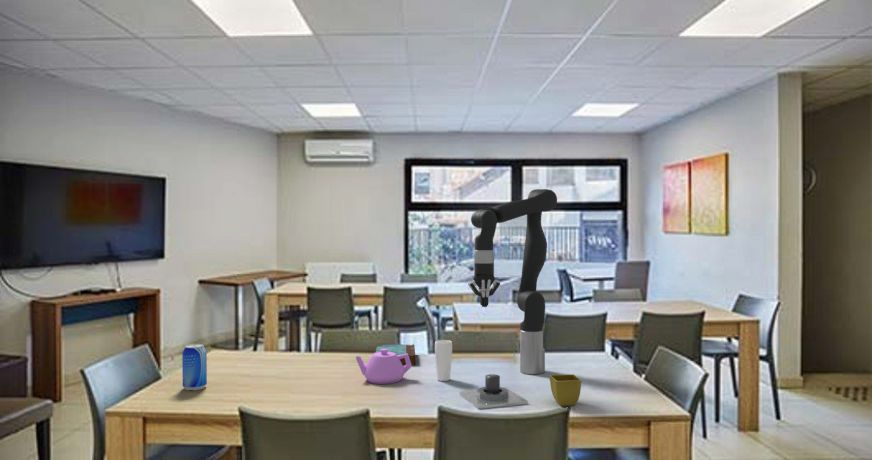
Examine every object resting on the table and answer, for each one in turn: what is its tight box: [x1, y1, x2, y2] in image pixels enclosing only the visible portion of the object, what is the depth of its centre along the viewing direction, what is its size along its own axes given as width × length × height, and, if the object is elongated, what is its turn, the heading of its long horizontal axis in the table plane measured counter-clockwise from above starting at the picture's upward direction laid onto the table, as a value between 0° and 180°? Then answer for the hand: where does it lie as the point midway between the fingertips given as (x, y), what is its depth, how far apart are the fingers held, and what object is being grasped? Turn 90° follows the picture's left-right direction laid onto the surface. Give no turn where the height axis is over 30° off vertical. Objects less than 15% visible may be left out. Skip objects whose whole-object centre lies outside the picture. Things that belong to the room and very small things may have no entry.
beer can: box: [181, 343, 208, 391], centre depth 227 cm, size 8×8×16 cm
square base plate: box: [459, 386, 529, 410], centre depth 211 cm, size 18×18×3 cm
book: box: [375, 343, 416, 366], centre depth 272 cm, size 23×18×5 cm
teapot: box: [355, 349, 413, 385], centre depth 238 cm, size 22×16×12 cm
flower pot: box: [549, 373, 582, 407], centre depth 205 cm, size 9×9×9 cm
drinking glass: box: [434, 339, 453, 382], centre depth 237 cm, size 7×7×15 cm
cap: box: [484, 374, 501, 393], centre depth 211 cm, size 5×5×7 cm
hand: (484, 306), depth 233 cm, fingers closed
